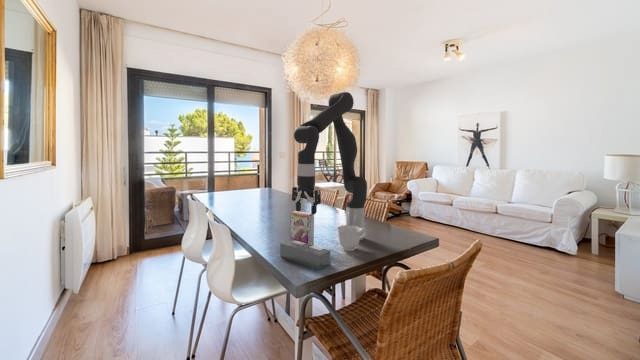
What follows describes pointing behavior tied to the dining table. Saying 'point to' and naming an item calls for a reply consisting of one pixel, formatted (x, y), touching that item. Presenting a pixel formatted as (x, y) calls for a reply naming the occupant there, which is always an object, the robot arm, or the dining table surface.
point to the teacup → (350, 236)
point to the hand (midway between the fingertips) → (305, 212)
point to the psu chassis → (305, 254)
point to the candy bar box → (302, 227)
